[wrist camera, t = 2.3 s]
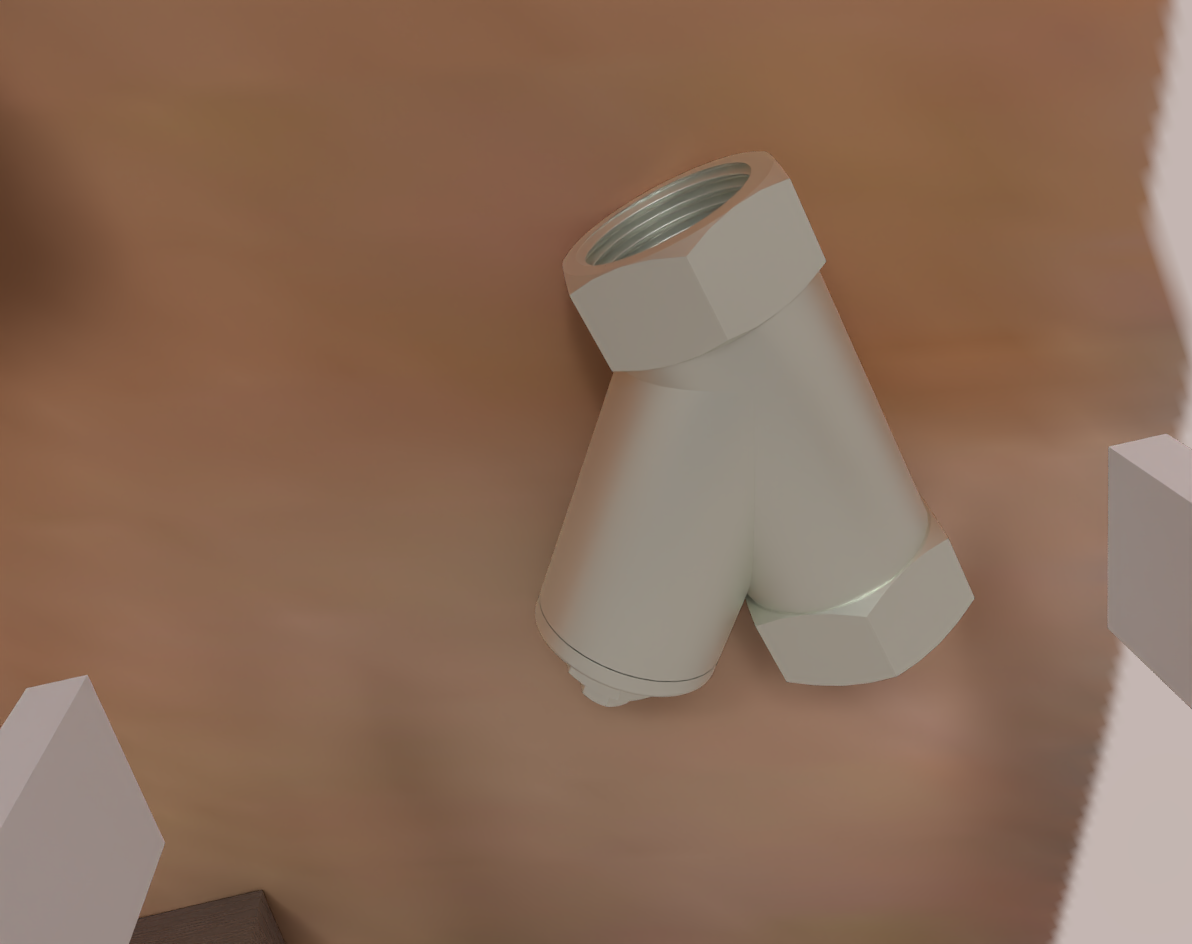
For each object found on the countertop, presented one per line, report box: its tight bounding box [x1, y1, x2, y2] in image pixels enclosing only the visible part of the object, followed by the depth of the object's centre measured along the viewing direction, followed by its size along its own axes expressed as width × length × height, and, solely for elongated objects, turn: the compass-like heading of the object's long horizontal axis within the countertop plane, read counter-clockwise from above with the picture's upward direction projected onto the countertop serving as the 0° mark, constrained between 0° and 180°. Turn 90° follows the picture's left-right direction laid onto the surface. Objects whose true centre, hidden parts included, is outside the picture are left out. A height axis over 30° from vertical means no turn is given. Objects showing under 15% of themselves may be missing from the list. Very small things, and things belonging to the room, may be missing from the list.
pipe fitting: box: [535, 151, 975, 707], centre depth 18 cm, size 8×4×7 cm
